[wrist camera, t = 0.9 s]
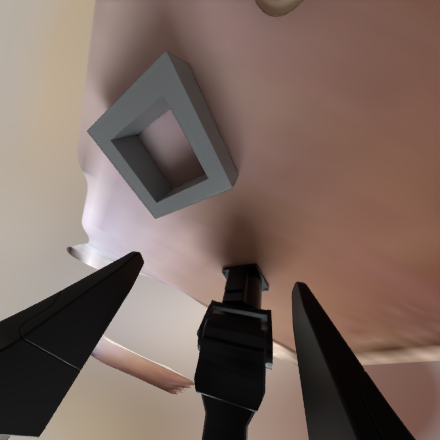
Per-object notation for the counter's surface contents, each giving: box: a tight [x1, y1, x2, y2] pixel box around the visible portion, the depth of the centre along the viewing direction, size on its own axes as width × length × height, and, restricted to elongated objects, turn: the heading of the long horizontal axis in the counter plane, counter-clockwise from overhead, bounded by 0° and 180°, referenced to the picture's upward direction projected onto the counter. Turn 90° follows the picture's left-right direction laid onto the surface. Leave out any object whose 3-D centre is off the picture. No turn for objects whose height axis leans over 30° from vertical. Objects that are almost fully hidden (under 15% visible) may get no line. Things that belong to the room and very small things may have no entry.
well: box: [87, 51, 238, 219], centre depth 17 cm, size 11×11×4 cm
